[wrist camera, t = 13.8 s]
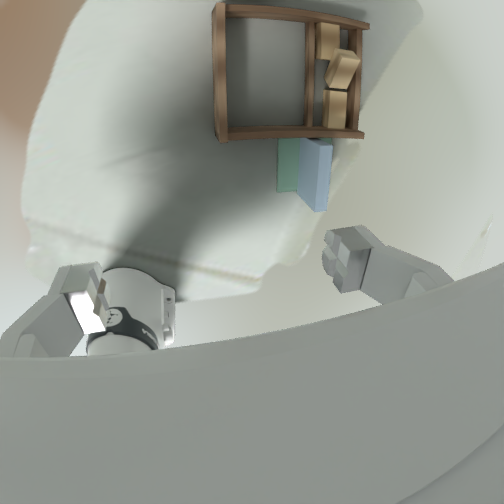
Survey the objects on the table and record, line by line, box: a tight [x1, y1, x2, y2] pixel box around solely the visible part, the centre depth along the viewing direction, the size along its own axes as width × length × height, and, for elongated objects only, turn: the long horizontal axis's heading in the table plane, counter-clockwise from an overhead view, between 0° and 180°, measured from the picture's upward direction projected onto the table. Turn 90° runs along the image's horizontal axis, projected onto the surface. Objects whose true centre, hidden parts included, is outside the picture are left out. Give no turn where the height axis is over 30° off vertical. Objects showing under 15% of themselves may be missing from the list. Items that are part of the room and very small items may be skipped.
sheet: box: [297, 138, 333, 212], centre depth 42 cm, size 10×2×7 cm, turn 0°
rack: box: [212, 3, 370, 143], centre depth 34 cm, size 19×22×6 cm
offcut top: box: [324, 48, 360, 89], centre depth 35 cm, size 6×3×2 cm
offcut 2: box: [322, 90, 347, 129], centre depth 40 cm, size 6×3×2 cm, turn 0°
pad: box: [277, 138, 332, 192], centre depth 45 cm, size 9×9×1 cm
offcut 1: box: [315, 22, 340, 61], centre depth 34 cm, size 6×3×2 cm, turn 1°
